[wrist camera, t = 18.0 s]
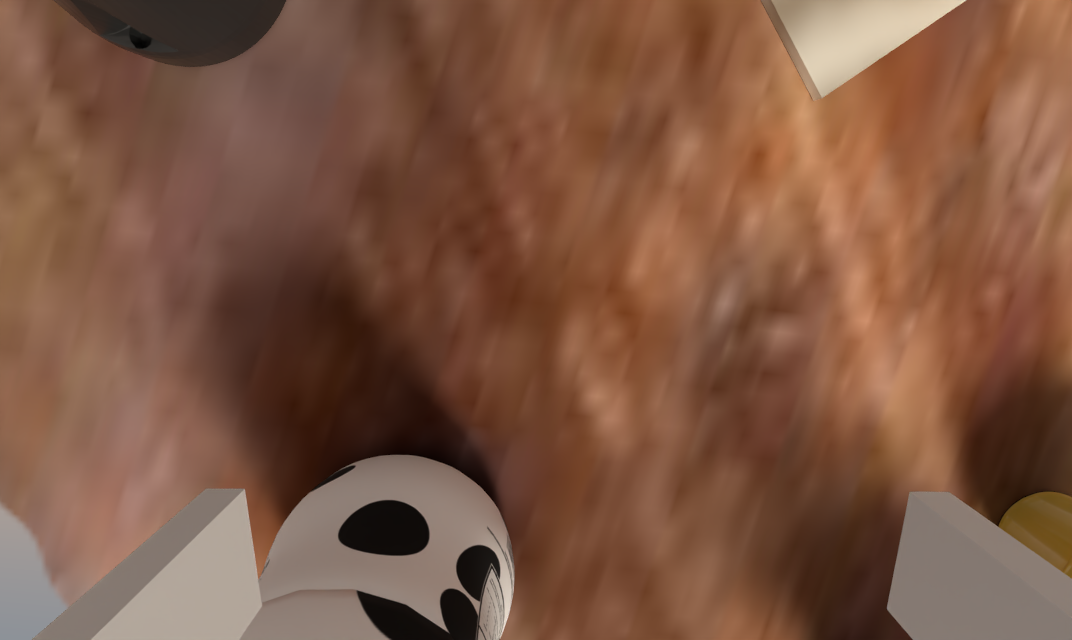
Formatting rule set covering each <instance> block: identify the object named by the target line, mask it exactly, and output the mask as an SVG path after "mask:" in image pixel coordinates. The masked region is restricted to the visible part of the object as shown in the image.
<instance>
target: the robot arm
mask: <svg viewBox="0 0 1072 640" xmlns="http://www.w3.org/2000/svg"><path fill="white" fill-rule="evenodd" d="M54 1H55V2H56V3H57V4H58V5H60V6H61V7H62V8H63V9H64V10H66V11H67V12H68V13H69V14H70V15H72V16H73V17H74V18H75V19H76V20H78V21H79V22H80V23H81V24H83V25H84V26H85V27H87V28H88V29H89V30H91V31H92V32H94V33H95V34H97V35H99V36H100V37H102V38H103V39H105V40H107V41H109V42H111V43H112V44H114V45H116V46H118V47H121V48H123V49H125V50H128V51H130V52H133V53H136V54H139V55H141V56H144V57H147V58H149V59H152V60H155V61H158V62H162V63H165V64H170V65H175V66H185V67H197V66H207V65H213V64H217V63H221V62H224V61H227V60H229V59H232V58H234V57H236V56H238V55H240V54H242V53H243V52H245V51H246V50H248V49H249V48H251V47H252V46H253V45H254V44H256V43H257V42H258V41H259V40H260V39H261V38H262V37H263V36H264V35H265V34H266V33H267V32H268V30H269V29H270V28H271V26H272V25H273V24H274V22H275V21H276V19H277V18H278V16H279V14H280V12H281V10H282V8H283V6H284V4H285V2H286V0H54ZM261 607H262V602H261V595H260V588H259V582H258V575H257V568H256V562H255V555H254V548H253V541H252V535H251V528H250V521H249V515H248V508H247V501H246V494H245V489H205V490H204V491H203V492H202V493H201V494H199V495H198V496H197V497H196V498H195V499H194V500H192V501H191V502H190V503H189V504H188V505H187V506H186V507H184V508H183V509H182V510H181V511H180V512H179V513H177V514H176V515H175V516H174V517H173V518H172V519H171V520H169V521H168V522H167V523H166V524H165V525H164V526H162V527H161V528H160V529H159V530H158V531H157V532H156V533H154V534H153V535H152V536H151V537H150V538H149V539H147V540H146V541H145V542H144V543H143V544H142V545H141V546H139V547H138V548H137V549H136V550H135V551H134V552H132V553H131V554H130V555H129V556H128V557H127V558H125V559H124V560H123V561H122V562H121V563H120V564H119V565H117V566H116V567H115V568H114V569H113V570H112V571H110V572H109V573H108V574H107V575H106V576H105V577H104V578H102V579H101V580H100V581H99V582H98V583H97V584H95V585H94V586H93V587H92V588H91V589H90V590H89V591H87V592H86V593H85V594H84V595H83V596H82V597H80V598H79V599H78V600H77V601H76V602H75V603H74V604H72V605H71V606H70V607H69V608H68V609H67V610H65V611H64V612H63V613H62V614H61V615H60V616H59V617H57V618H56V619H55V620H54V621H53V622H52V623H50V624H49V625H48V626H47V627H46V628H45V629H44V630H42V631H41V632H40V633H39V634H38V635H37V636H35V637H34V638H33V639H32V640H239V639H240V638H241V636H242V635H243V633H244V632H245V630H246V629H247V627H248V626H249V624H250V623H251V622H252V620H253V619H254V617H255V616H256V614H257V613H258V611H259V610H260V608H261ZM887 610H888V611H889V612H890V614H891V615H892V616H893V617H894V618H895V619H896V621H897V622H898V623H899V624H900V625H901V626H902V628H903V629H904V630H905V631H906V632H907V633H908V635H909V636H910V637H911V638H912V639H913V640H1072V579H1071V578H1070V577H1069V576H1067V575H1066V574H1064V573H1063V572H1061V571H1060V570H1059V569H1057V568H1056V567H1054V566H1053V565H1052V564H1050V563H1049V562H1047V561H1046V560H1044V559H1043V558H1042V557H1040V556H1039V555H1037V554H1036V553H1035V552H1033V551H1032V550H1030V549H1029V548H1027V547H1026V546H1025V545H1023V544H1022V543H1020V542H1019V541H1018V540H1016V539H1015V538H1013V537H1012V536H1011V535H1009V534H1008V533H1006V532H1005V531H1003V530H1002V529H1001V528H999V527H998V526H996V525H995V524H994V523H992V522H991V521H989V520H988V519H986V518H985V517H984V516H982V515H981V514H979V513H978V512H977V511H975V510H974V509H972V508H971V507H969V506H968V505H967V504H965V503H964V502H962V501H961V500H960V499H958V498H957V497H955V496H954V495H952V494H951V493H950V492H910V493H909V498H908V503H907V508H906V514H905V519H904V524H903V529H902V534H901V539H900V544H899V549H898V554H897V559H896V564H895V569H894V574H893V579H892V584H891V589H890V594H889V599H888V604H887Z"/></svg>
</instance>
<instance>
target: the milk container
mask: <svg viewBox="0 0 1072 640" xmlns="http://www.w3.org/2000/svg"><path fill="white" fill-rule="evenodd" d="M258 582H259V588H260V595H261V602H262V607H261V608H260V610H259V611H258V613H257V614H256V616H255V617H254V619H253V620H252V622H251V623H250V624H249V626H248V627H247V629H246V630H245V632H244V633H243V635H242V636H241V638H240V639H239V640H500V637H501V635H502V633H503V630H504V627H505V624H506V622H507V619H508V616H509V612H510V608H511V603H512V598H513V590H514V562H513V553H512V548H511V542H510V538H509V534H508V531H507V527H506V524H505V522H504V519H503V517H502V515H501V513H500V511H499V510H498V508H497V507H496V505H495V504H494V502H493V501H492V500H491V498H490V497H489V496H488V495H487V494H486V492H485V491H484V490H483V489H482V488H481V487H480V486H479V485H478V484H477V483H475V482H474V481H473V480H471V479H470V478H469V477H467V476H466V475H464V474H463V473H462V472H460V471H459V470H457V469H455V468H454V467H452V466H449V465H447V464H444V463H441V462H438V461H435V460H432V459H429V458H425V457H421V456H417V455H384V456H377V457H372V458H367V459H364V460H361V461H357V462H355V463H352V464H350V465H348V466H346V467H344V468H342V469H340V470H339V471H337V472H335V473H334V474H332V475H331V476H329V477H328V478H327V479H325V480H324V481H323V482H321V483H320V484H319V485H318V486H316V487H315V488H314V489H313V490H312V491H311V492H310V493H309V494H307V495H306V496H305V497H304V498H303V499H302V500H301V501H300V503H299V504H298V505H297V506H296V507H295V508H294V510H293V511H292V512H291V513H290V515H289V516H288V517H287V519H286V520H285V522H284V524H283V525H282V527H281V528H280V530H279V532H278V534H277V536H276V538H275V540H274V542H273V544H272V547H271V549H270V552H269V554H268V557H267V560H266V563H265V566H264V569H263V572H262V574H261V576H260V578H259V580H258Z"/></svg>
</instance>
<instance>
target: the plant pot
mask: <svg viewBox="0 0 1072 640" xmlns="http://www.w3.org/2000/svg"><path fill="white" fill-rule="evenodd" d="M998 527H999V528H1001V529H1002V530H1003V531H1005V532H1006V533H1008V534H1009V535H1011V536H1012V537H1013V538H1015V539H1016V540H1018V541H1019V542H1020V543H1022V544H1023V545H1025V546H1026V547H1027V548H1029V549H1030V550H1032V551H1033V552H1035V553H1036V554H1037V555H1039V556H1040V557H1042V558H1043V559H1044V560H1046V561H1047V562H1049V563H1050V564H1052V565H1053V566H1054V567H1056V568H1057V569H1059V570H1060V571H1061V572H1063V573H1064V574H1066V575H1067V576H1069V577H1070V578H1071V579H1072V497H1070V496H1068V495H1065V494H1062V493H1058V492H1040V493H1035V494H1032V495H1029V496H1027V497H1025V498H1023V499H1021V500H1019V501H1018V502H1016V503H1015V504H1014V505H1012V506H1011V507H1010V508H1009V509H1008V510H1007V512H1006V513H1005V514H1004V516H1003V517H1002V519H1001V521H1000V523H999V526H998Z"/></svg>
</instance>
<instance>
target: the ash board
mask: <svg viewBox="0 0 1072 640" xmlns="http://www.w3.org/2000/svg"><path fill="white" fill-rule="evenodd" d="M964 1H966V0H761V2H762V3H763V5H764V7H765V9H766V11H767V13H768V15H769V17H770V19H771V21H772V23H773V24H774V26H775V28H776V30H777V32H778V34H779V36H780V38H781V40H782V42H783V44H784V45H785V47H786V49H787V51H788V53H789V55H790V57H791V59H792V61H793V63H794V65H795V67H796V68H797V70H798V72H799V74H800V76H801V78H802V80H803V82H804V84H805V86H806V88H807V89H808V91H809V93H810V95H811V97H812V99H813V101H815V100H818V99H821V98H823V97H824V96H826V95H827V94H829V93H830V92H832V91H833V90H835V89H836V88H838V87H839V86H840V85H842V84H843V83H845V82H846V81H848V80H849V79H851V78H852V77H854V76H855V75H857V74H858V73H860V72H861V71H863V70H864V69H865V68H867V67H868V66H870V65H871V64H873V63H874V62H876V61H877V60H879V59H880V58H882V57H883V56H885V55H886V54H888V53H889V52H890V51H892V50H893V49H895V48H896V47H898V46H899V45H901V44H902V43H904V42H905V41H907V40H908V39H910V38H911V37H913V36H914V35H916V34H917V33H918V32H920V31H921V30H923V29H924V28H926V27H927V26H929V25H930V24H932V23H933V22H935V21H936V20H938V19H939V18H941V17H942V16H943V15H945V14H946V13H948V12H949V11H951V10H952V9H954V8H955V7H957V6H958V5H960V4H961V3H963V2H964Z"/></svg>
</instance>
